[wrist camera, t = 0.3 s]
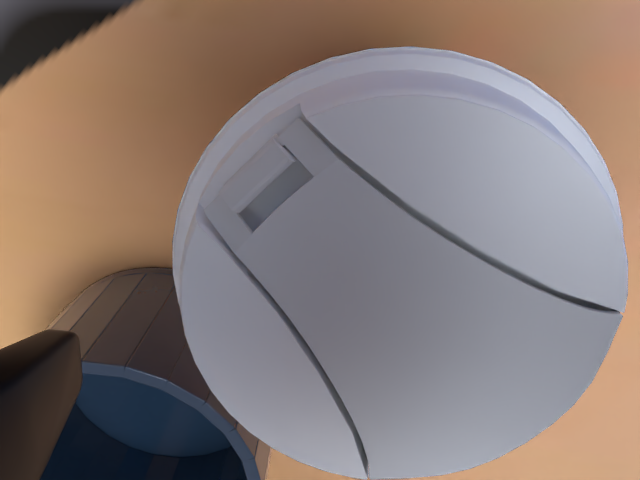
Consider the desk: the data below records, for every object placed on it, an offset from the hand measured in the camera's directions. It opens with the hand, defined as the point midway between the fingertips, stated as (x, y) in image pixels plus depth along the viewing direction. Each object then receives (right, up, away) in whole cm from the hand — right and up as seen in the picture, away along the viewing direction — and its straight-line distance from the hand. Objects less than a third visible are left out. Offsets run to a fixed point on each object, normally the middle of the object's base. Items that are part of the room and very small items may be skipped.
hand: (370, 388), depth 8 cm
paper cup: (+1, +7, +13) cm, 15 cm away
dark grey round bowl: (-8, -4, +18) cm, 20 cm away
